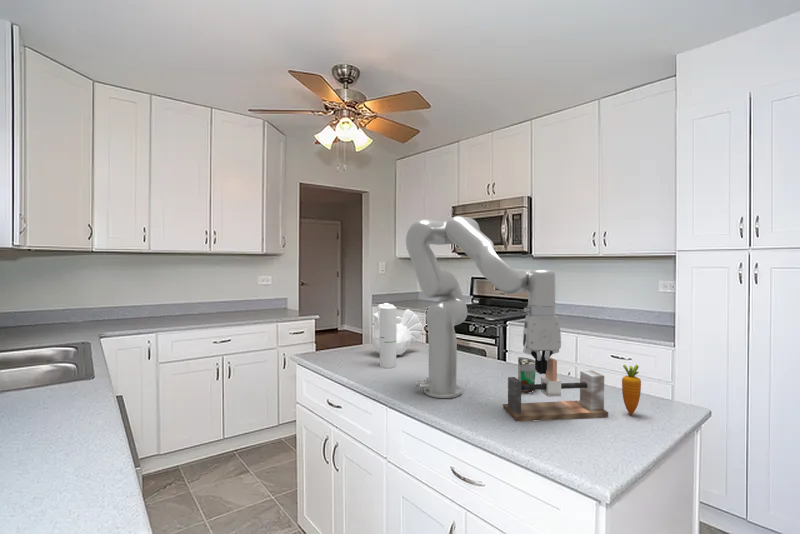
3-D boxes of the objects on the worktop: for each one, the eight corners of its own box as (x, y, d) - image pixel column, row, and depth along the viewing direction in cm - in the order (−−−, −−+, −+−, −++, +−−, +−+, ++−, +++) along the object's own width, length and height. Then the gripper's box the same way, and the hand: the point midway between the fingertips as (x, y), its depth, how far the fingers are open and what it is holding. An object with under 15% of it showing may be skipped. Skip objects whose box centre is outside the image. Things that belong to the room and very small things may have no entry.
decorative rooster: (374, 359, 187) (375, 305, 186) (370, 352, 202) (370, 301, 201) (428, 357, 192) (428, 304, 191) (419, 349, 207) (419, 300, 207)
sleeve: (548, 396, 120) (548, 360, 120) (540, 391, 125) (541, 357, 125) (561, 396, 121) (561, 360, 121) (553, 391, 126) (553, 356, 125)
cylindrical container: (386, 362, 181) (386, 306, 181) (399, 365, 177) (399, 307, 176) (376, 366, 175) (376, 307, 175) (389, 369, 171) (389, 309, 171)
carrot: (617, 412, 124) (618, 363, 123) (629, 410, 125) (629, 361, 125) (632, 418, 119) (633, 367, 119) (644, 416, 121) (645, 365, 121)
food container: (539, 395, 139) (540, 366, 138) (520, 394, 140) (521, 365, 140) (535, 384, 151) (535, 357, 151) (517, 383, 152) (518, 356, 152)
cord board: (516, 421, 117) (516, 381, 116) (503, 408, 126) (503, 371, 126) (608, 417, 120) (608, 377, 120) (588, 404, 130) (588, 368, 130)
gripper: (522, 313, 117) (522, 377, 118) (572, 312, 119) (571, 375, 120) (512, 310, 125) (511, 370, 125) (558, 309, 127) (558, 368, 127)
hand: (541, 372), depth 122 cm, fingers closed
